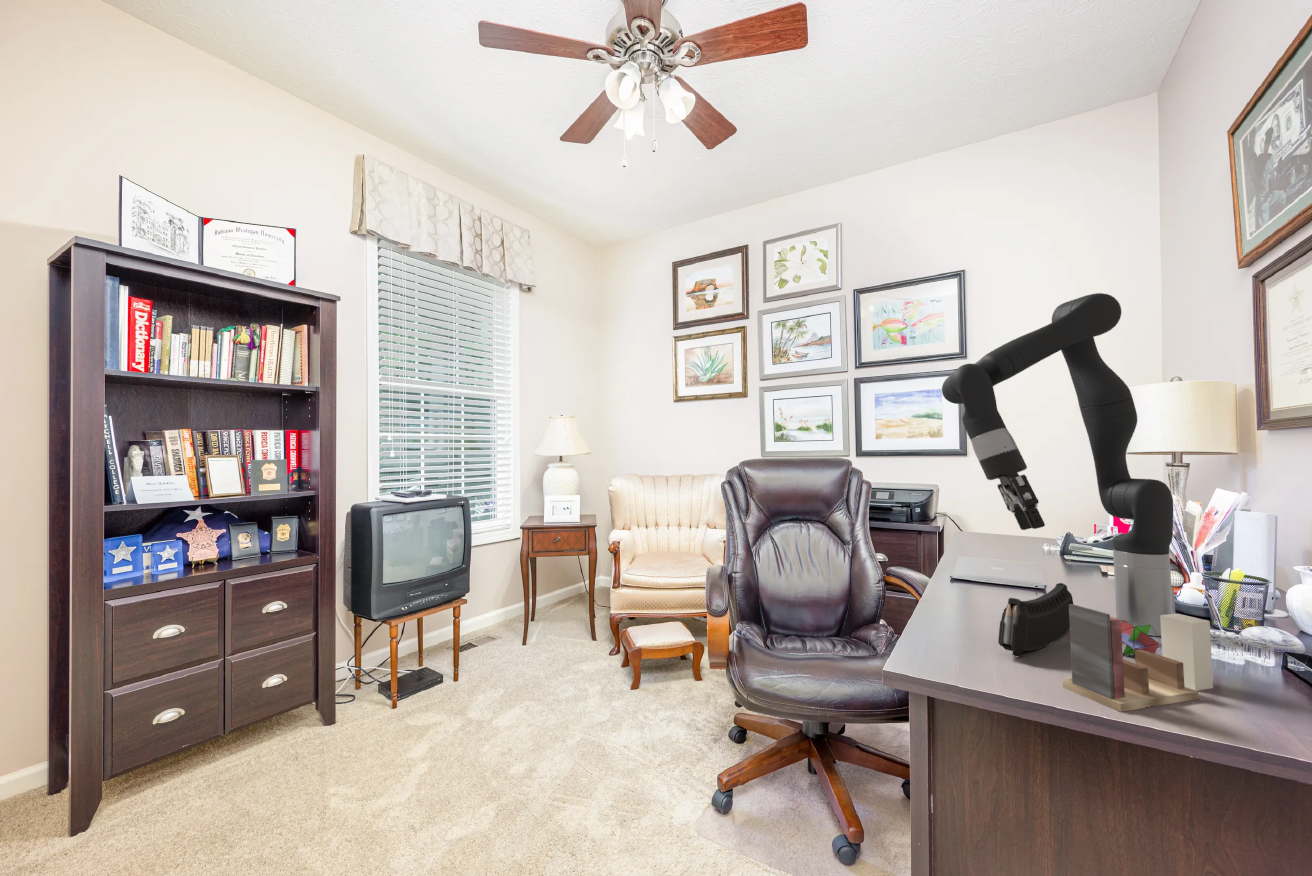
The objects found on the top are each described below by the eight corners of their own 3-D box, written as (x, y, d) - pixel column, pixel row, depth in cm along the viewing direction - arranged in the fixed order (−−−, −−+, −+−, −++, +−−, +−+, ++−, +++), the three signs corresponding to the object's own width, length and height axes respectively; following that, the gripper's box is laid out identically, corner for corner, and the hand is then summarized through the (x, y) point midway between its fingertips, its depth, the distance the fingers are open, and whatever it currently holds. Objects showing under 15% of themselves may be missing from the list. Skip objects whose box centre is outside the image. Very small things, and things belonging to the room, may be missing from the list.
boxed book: (1180, 677, 92) (1177, 613, 92) (1213, 688, 87) (1209, 621, 88) (1163, 679, 91) (1160, 615, 91) (1195, 690, 86) (1191, 623, 87)
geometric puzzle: (1183, 654, 96) (1152, 611, 101) (1153, 657, 95) (1123, 613, 100) (1150, 665, 102) (1122, 624, 107) (1121, 669, 101) (1094, 627, 106)
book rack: (1135, 676, 92) (1131, 594, 93) (1198, 699, 84) (1193, 608, 84) (1062, 686, 89) (1058, 601, 89) (1120, 711, 80) (1116, 617, 80)
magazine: (1061, 585, 121) (1004, 563, 105) (1079, 587, 118) (1022, 565, 102) (1056, 662, 117) (996, 652, 102) (1074, 667, 115) (1015, 657, 99)
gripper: (1025, 442, 103) (1065, 521, 99) (1009, 453, 116) (1043, 524, 112) (984, 454, 106) (1021, 533, 101) (973, 464, 119) (1005, 534, 114)
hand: (1033, 528), depth 106 cm, fingers open, 8 cm apart
